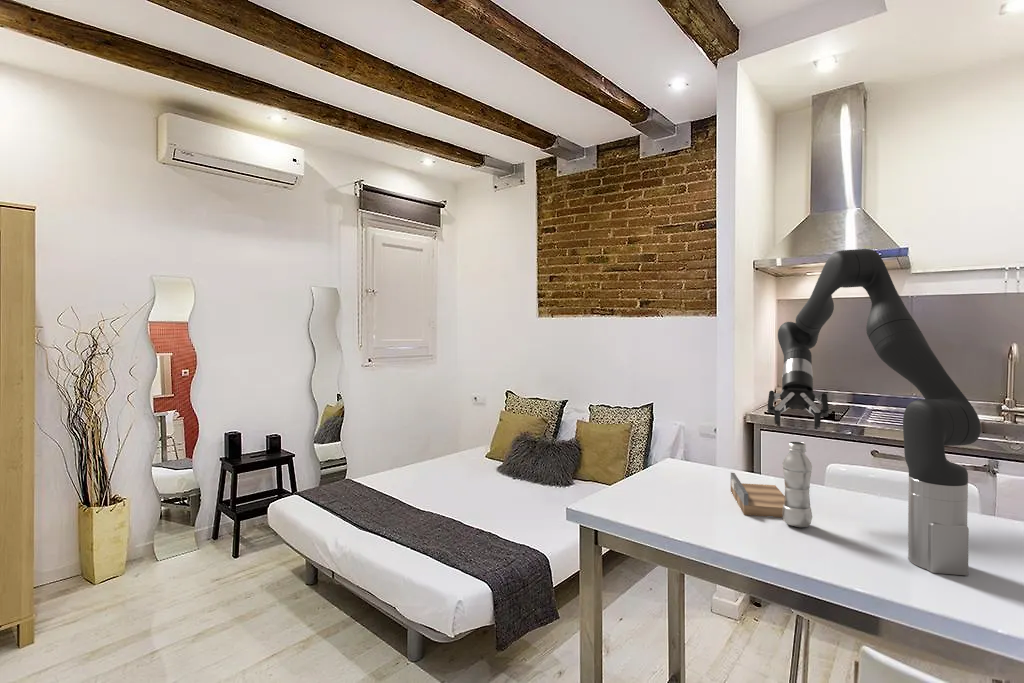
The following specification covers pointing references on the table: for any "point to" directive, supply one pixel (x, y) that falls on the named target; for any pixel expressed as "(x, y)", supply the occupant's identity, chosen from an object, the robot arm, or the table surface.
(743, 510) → the shelf board
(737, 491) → the rail
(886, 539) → the table surface
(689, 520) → the table surface
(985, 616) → the table surface
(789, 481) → the silver bottle
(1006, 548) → the table surface
